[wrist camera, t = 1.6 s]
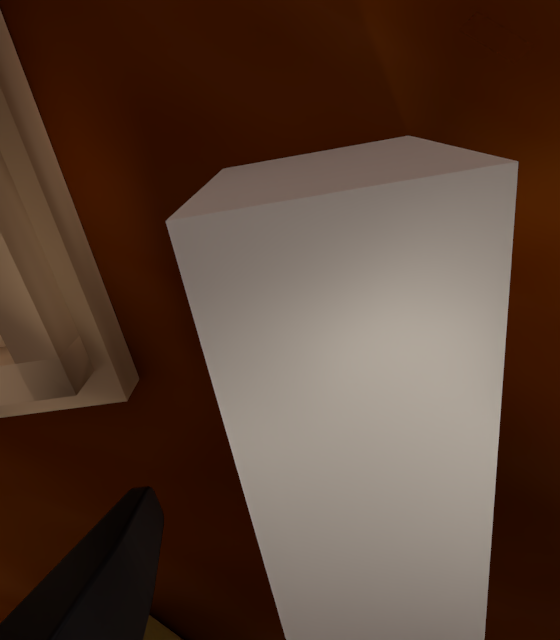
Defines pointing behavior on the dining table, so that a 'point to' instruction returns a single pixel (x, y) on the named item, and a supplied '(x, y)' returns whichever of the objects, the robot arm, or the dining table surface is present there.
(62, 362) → the beige rectangular tray
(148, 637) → the flower pot
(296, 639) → the door
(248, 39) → the dining table surface
